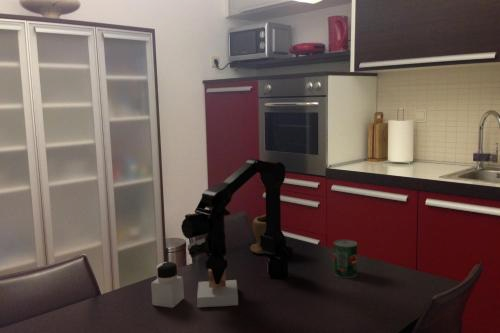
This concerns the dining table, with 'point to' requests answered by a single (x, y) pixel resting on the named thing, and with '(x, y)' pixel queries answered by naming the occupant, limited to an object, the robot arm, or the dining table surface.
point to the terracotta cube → (212, 281)
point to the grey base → (217, 294)
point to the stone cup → (258, 232)
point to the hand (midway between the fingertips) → (217, 280)
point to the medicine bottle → (167, 286)
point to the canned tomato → (345, 258)
